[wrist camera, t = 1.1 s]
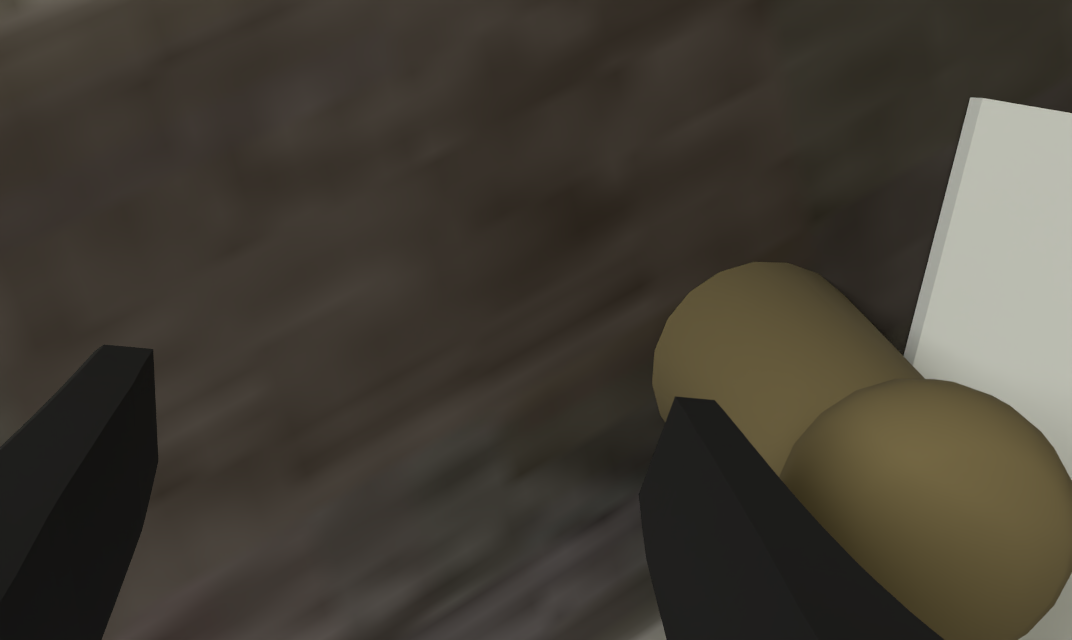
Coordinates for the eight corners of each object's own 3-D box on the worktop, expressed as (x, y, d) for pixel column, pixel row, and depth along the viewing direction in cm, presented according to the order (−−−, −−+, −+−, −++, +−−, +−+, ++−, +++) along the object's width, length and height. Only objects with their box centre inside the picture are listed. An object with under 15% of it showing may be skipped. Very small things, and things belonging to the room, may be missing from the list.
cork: (862, 247, 26) (1154, 370, 15) (868, 453, 27) (1136, 696, 17) (642, 276, 25) (784, 423, 15) (661, 484, 27) (801, 751, 16)
